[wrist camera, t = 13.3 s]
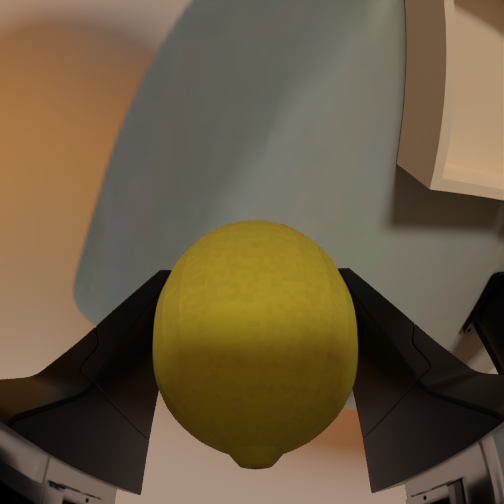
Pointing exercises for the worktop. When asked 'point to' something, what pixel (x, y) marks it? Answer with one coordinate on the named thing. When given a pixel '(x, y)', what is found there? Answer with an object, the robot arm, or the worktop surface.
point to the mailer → (454, 96)
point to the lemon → (255, 341)
